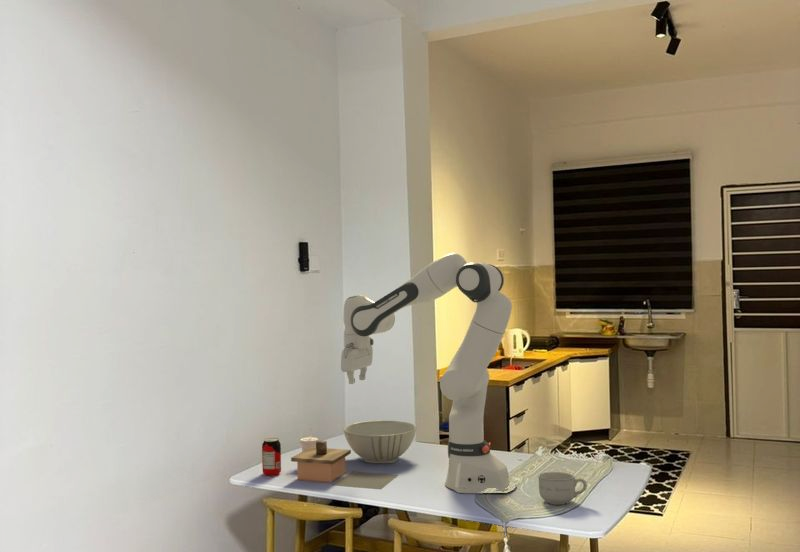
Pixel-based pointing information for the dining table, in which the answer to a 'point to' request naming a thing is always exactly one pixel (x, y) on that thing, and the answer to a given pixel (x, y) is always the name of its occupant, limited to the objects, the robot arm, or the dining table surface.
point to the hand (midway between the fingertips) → (357, 381)
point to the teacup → (559, 487)
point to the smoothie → (308, 442)
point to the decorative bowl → (380, 439)
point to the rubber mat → (366, 480)
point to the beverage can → (271, 456)
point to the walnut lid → (321, 454)
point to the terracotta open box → (320, 471)
